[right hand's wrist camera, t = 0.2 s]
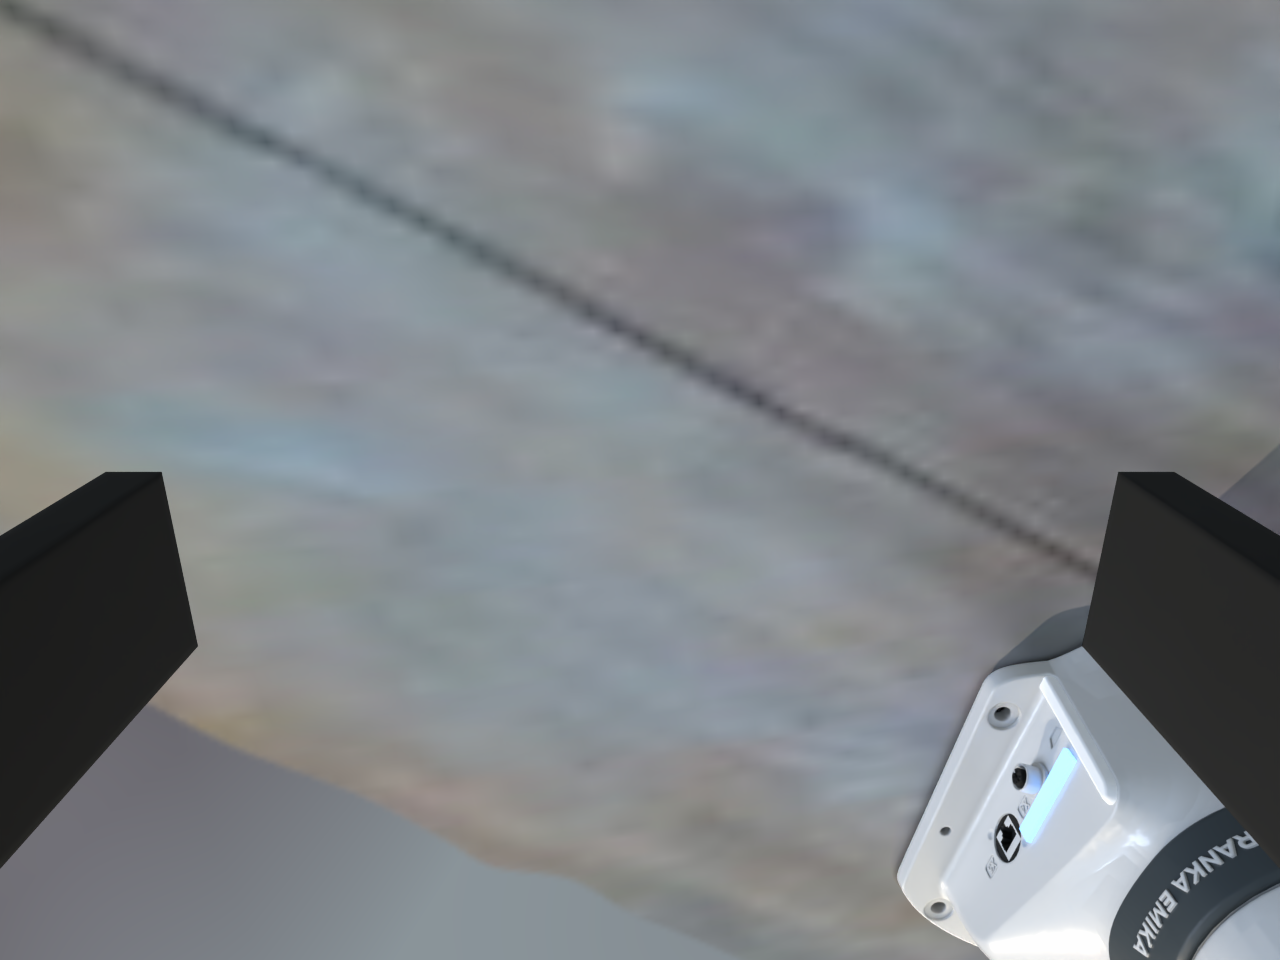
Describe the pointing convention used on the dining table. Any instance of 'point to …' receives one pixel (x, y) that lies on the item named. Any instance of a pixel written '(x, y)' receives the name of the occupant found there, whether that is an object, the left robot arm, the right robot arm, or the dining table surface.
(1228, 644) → the right robot arm
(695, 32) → the dining table surface
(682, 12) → the dining table surface
